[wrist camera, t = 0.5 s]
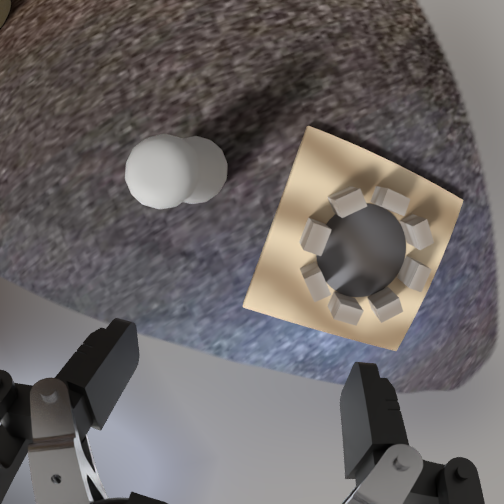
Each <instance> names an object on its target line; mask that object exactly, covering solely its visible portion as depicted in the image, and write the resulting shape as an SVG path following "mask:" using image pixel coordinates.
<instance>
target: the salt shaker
mask: <svg viewBox="0 0 504 504" xmlns="http://www.w3.org/2000/svg"><path fill="white" fill-rule="evenodd" d="M227 165H228V164H227V161H226V159H225V156H224V154H223V151H222V150H221V149H220V148H219V147H218V146H217V145H216V144H215V143H213V142H212V141H211V140H209V139H205V138H202V137H198V136H193V137H189V138H184V139H182V138H180V137H176V136H172V135H168V134H161V135H157V136H153V137H149V138H146V139H144V140H143V141H142V142H141V143H139V144H138V145H137V146H136V147H134V148H133V150H132V152H131V154H130V156H129V158H128V160H127V162H126V174H125V180H126V182H127V185H128V187H129V190H130V192H131V194H132V195H133V196H134V197H135V198H136V199H137V200H138V201H139V202H140V203H141V204H142V205H146V206H150V207H153V208H157V209H164V208H171V207H176V206H178V205H179V204H181V203H182V202H186V203H190V204H195V203H201V202H207V201H208V200H209V199H211V198H212V197H214V196H215V195H217V194H218V193H219V192H220V190H221V188H222V186H223V185H224V183H225V181H226V179H227Z"/></svg>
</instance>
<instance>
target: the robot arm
mask: <svg viewBox="0 0 504 504" xmlns="http://www.w3.org/2000/svg"><path fill="white" fill-rule="evenodd" d="M138 361H139V347H138V338H137V329H136V325H135V323H134V322H130V321H126V320H122V319H118V318H115V319H114V320H113V321H112V322H111V323H110V324H109V326H108V327H107V328H106V329H104V328H100V329H98V330H96V331H95V332H93V333H91V334H90V335H89V336H88V337H87V338H86V340H85V341H84V342H83V345H81V346H80V347H79V348H78V349H77V352H75V353H74V354H73V356H72V357H71V358H70V359H69V361H68V362H67V363H66V364H65V366H64V367H63V368H62V370H61V371H60V372H59V373H58V374H57V376H56V377H55V378H45V379H42V380H40V381H38V382H37V383H35V384H34V385H33V386H31V385H25V384H18V383H14V382H13V379H12V377H11V376H10V374H9V373H8V372H6V371H4V370H0V422H1V425H0V504H1V503H2V501H3V498H4V496H5V494H6V493H7V491H8V489H9V487H10V485H11V482H12V481H13V479H14V477H15V475H16V473H17V471H18V469H19V467H20V466H21V464H22V462H23V460H24V458H25V456H26V454H27V453H28V457H29V465H30V472H31V479H32V484H33V490H34V495H35V500H36V504H167V503H166V502H163V501H159V500H156V499H153V498H149V497H146V496H143V495H140V494H137V493H134V492H131V494H130V497H129V498H108V497H107V494H106V492H105V489H104V488H103V485H102V483H101V480H100V478H99V475H98V472H97V468H96V465H95V462H94V458H93V454H92V451H91V447H90V443H89V439H88V435H87V432H88V431H89V429H90V427H93V428H95V429H98V430H102V428H103V426H104V424H105V422H106V421H107V419H108V417H109V415H110V413H111V411H112V410H113V408H114V406H115V404H116V403H117V401H118V399H119V397H120V396H121V394H122V392H123V390H124V389H125V387H126V385H127V383H128V382H129V380H130V378H131V377H132V375H133V373H134V371H135V370H136V368H137V365H138ZM397 400H398V399H397V395H396V392H395V388H394V387H393V386H392V384H391V383H390V382H389V380H388V379H387V378H380V375H379V371H378V367H377V365H376V364H375V363H363V362H355V363H354V365H353V367H352V369H351V372H350V374H349V376H348V379H347V381H346V383H345V386H344V388H343V390H342V393H341V398H340V411H341V422H342V435H343V448H344V463H345V479H356V487H355V488H354V489H353V490H352V491H351V493H350V494H349V495H348V496H347V497H346V499H345V500H344V501H343V502H342V503H341V504H485V503H484V498H483V493H482V489H481V484H480V480H479V476H478V472H477V469H476V467H475V465H474V464H473V463H472V462H471V461H470V460H468V459H466V458H462V457H457V458H453V459H451V460H450V461H449V462H448V463H447V464H446V465H443V464H437V463H433V462H429V461H425V460H423V459H422V457H421V455H420V453H419V452H418V451H417V450H416V449H414V448H413V447H411V446H409V443H408V439H407V435H406V430H405V426H404V422H403V418H402V415H401V411H400V406H399V403H398V402H397Z"/></svg>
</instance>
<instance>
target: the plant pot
mask: <svg viewBox="0 0 504 504" xmlns="http://www.w3.org/2000/svg"><path fill="white" fill-rule="evenodd" d="M10 7H11V0H0V28H1V27H2V25H3V24H4V22H5V20H6V18H7V16H8V14H9V11H10Z"/></svg>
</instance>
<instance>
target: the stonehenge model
mask: <svg viewBox="0 0 504 504" xmlns="http://www.w3.org/2000/svg"><path fill="white" fill-rule="evenodd" d="M462 203H463V200H462V199H460V198H459V197H457V196H455V195H453V194H452V193H450V192H448V191H447V190H445V189H443V188H441V187H439V186H438V185H436V184H434V183H432V182H430V181H428V180H427V179H425V178H423V177H421V176H419V175H417V174H415V173H413V172H411V171H409V170H407V169H405V168H403V167H401V166H399V165H397V164H395V163H393V162H391V161H389V160H387V159H385V158H383V157H381V156H379V155H377V154H374V153H372V152H370V151H368V150H366V149H363V148H361V147H359V146H357V145H354V144H352V143H350V142H347V141H345V140H343V139H340V138H338V137H336V136H333V135H331V134H328V133H326V132H323V131H321V130H318V129H316V128H313V127H310V126H307V127H306V130H305V133H304V136H303V139H302V141H301V144H300V147H299V150H298V153H297V155H296V158H295V161H294V164H293V167H292V169H291V172H290V175H289V178H288V181H287V183H286V186H285V189H284V192H283V195H282V197H281V200H280V203H279V206H278V208H277V211H276V214H275V217H274V220H273V222H272V225H271V228H270V231H269V233H268V236H267V239H266V242H265V244H264V247H263V250H262V253H261V255H260V258H259V261H258V264H257V266H256V269H255V272H254V275H253V277H252V280H251V283H250V286H249V288H248V291H247V294H246V296H245V299H244V302H243V307H244V308H247V309H250V310H253V311H256V312H260V313H263V314H266V315H269V316H272V317H276V318H279V319H282V320H286V321H289V322H292V323H296V324H299V325H302V326H306V327H309V328H313V329H316V330H320V331H323V332H327V333H330V334H334V335H337V336H341V337H344V338H348V339H352V340H355V341H359V342H363V343H367V344H371V345H374V346H378V347H382V348H386V349H390V350H394V351H397V349H398V347H399V345H400V344H401V342H402V340H403V338H404V336H405V334H406V333H407V331H408V329H409V327H410V325H411V323H412V321H413V319H414V317H415V315H416V313H417V311H418V309H419V307H420V305H421V303H422V301H423V299H424V297H425V295H426V293H427V291H428V289H429V286H430V284H431V282H432V280H433V278H434V275H435V273H436V271H437V268H438V266H439V264H440V261H441V259H442V257H443V254H444V252H445V249H446V247H447V244H448V242H449V239H450V236H451V234H452V231H453V229H454V226H455V223H456V220H457V217H458V215H459V212H460V209H461V206H462Z"/></svg>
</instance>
